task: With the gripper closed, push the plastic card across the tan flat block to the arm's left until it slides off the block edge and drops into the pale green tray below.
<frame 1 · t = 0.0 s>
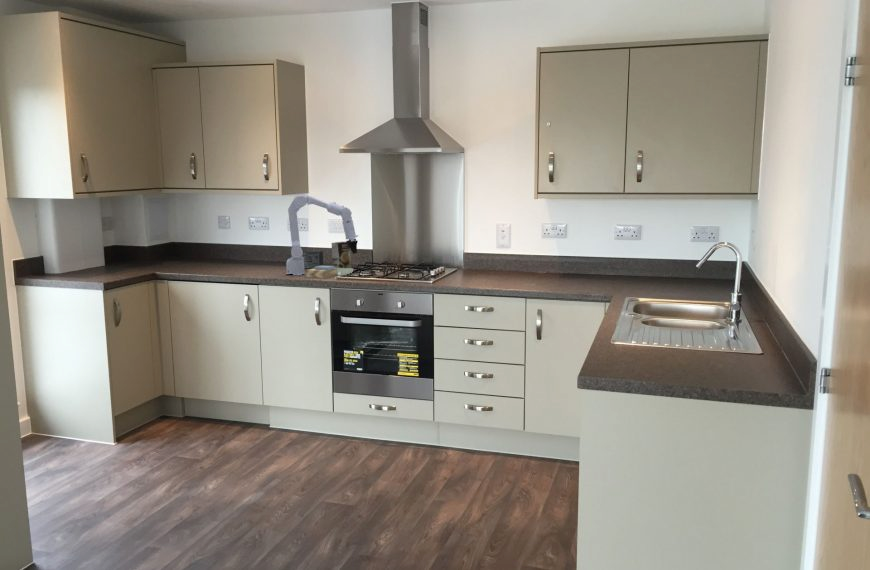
hand: (354, 252, 408), 11 cm above the worktop, tool pointing down, fingers open, 7 cm apart
tan flat block: (321, 276, 393), on the worktop
tray: (337, 273, 401), on the worktop
small box: (313, 268, 426), on the worktop
coffee box: (342, 270, 416), on the worktop
card: (324, 269, 391), point 4 cm above the worktop, touching tan flat block
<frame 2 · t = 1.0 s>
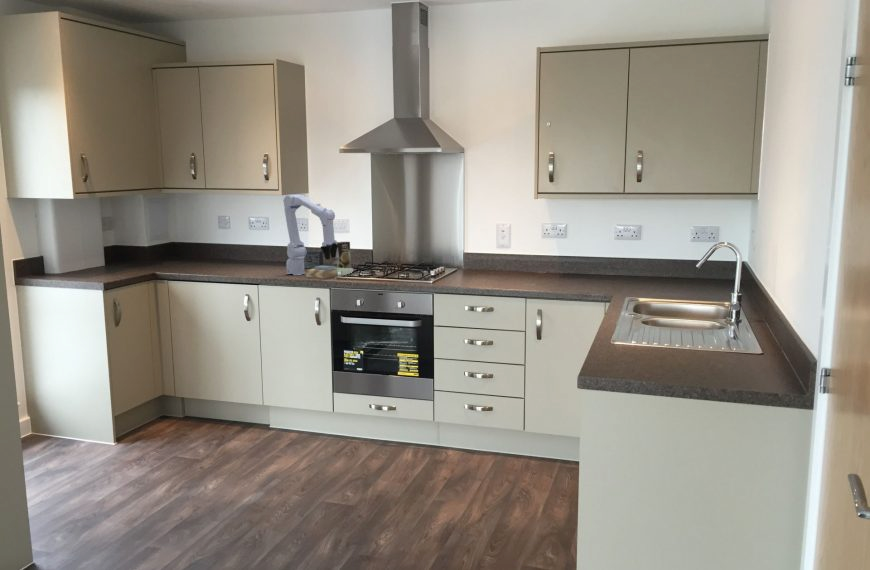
hand: (330, 258, 387), 10 cm above the worktop, tool pointing down, fingers open, 7 cm apart
nothing on the worktop moved.
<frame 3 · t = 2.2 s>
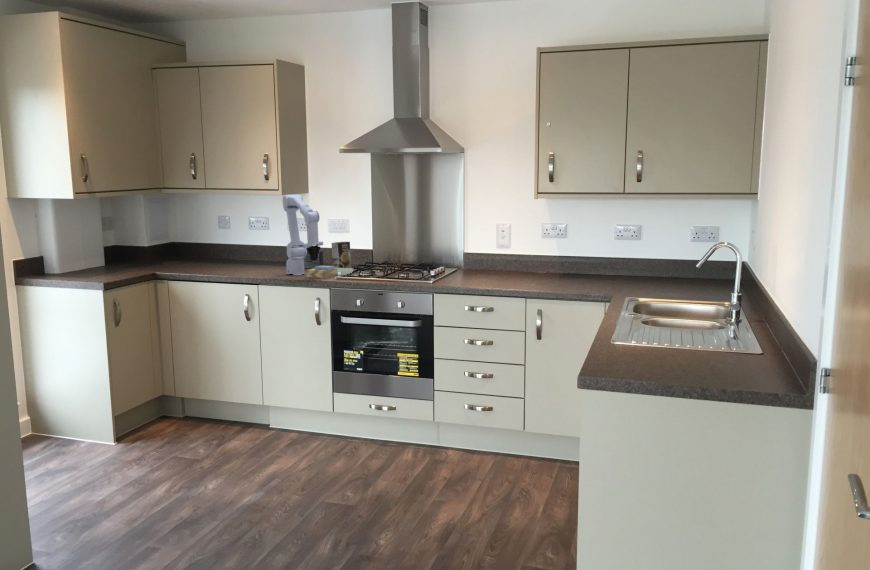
hand: (314, 260, 383), 10 cm above the worktop, tool pointing down, fingers closed
nothing on the worktop moved.
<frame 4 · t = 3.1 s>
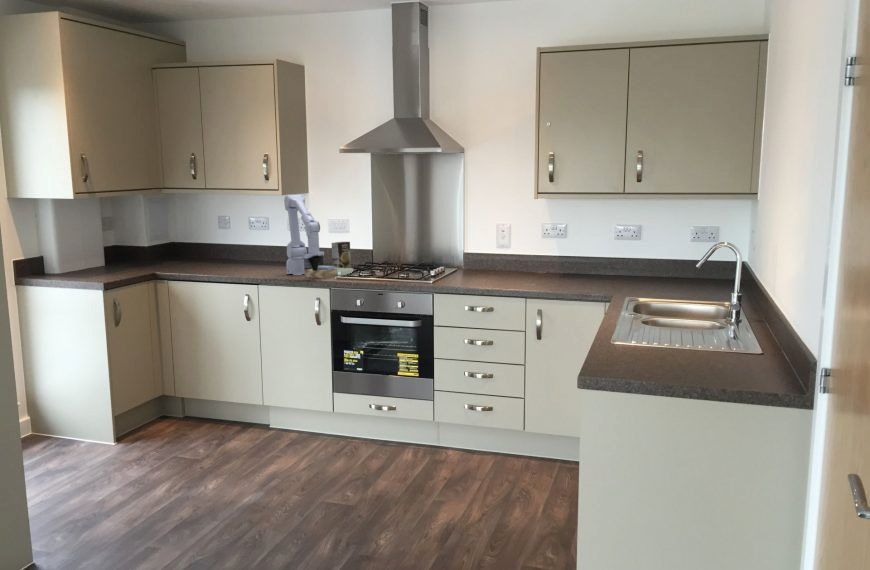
hand: (314, 270, 384), 4 cm above the worktop, tool pointing down, fingers closed
nothing on the worktop moved.
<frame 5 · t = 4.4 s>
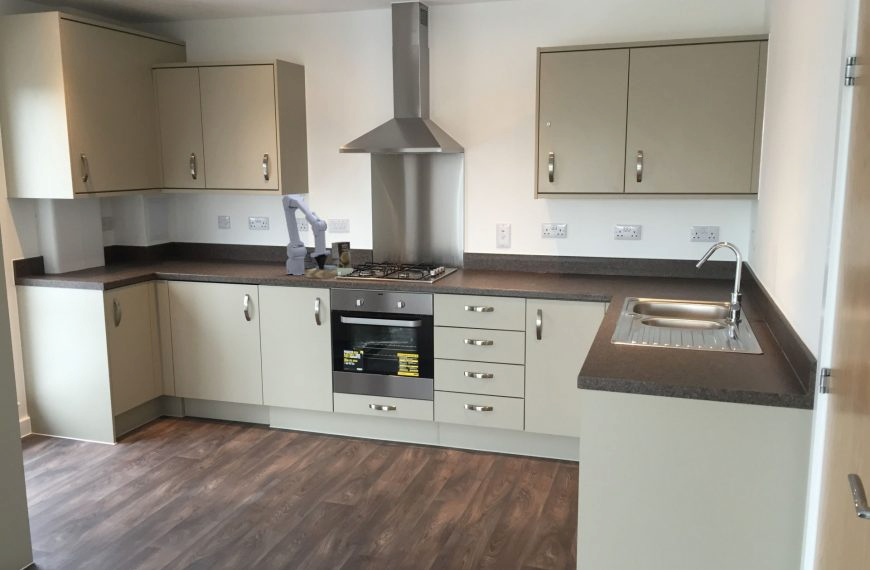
hand: (321, 269, 389), 4 cm above the worktop, tool pointing down, fingers closed
card: (326, 268, 392), point 4 cm above the worktop, touching tan flat block, gripper
everything else where it was.
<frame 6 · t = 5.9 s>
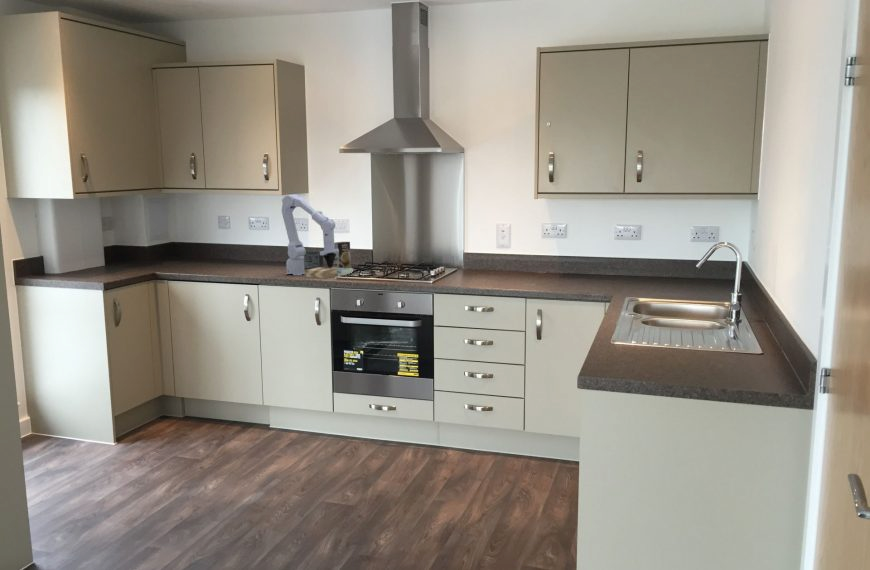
hand: (330, 267, 396), 5 cm above the worktop, tool pointing down, fingers closed
card: (337, 270, 402), point 2 cm above the worktop, tilted 180°, touching tray
everything else where it was.
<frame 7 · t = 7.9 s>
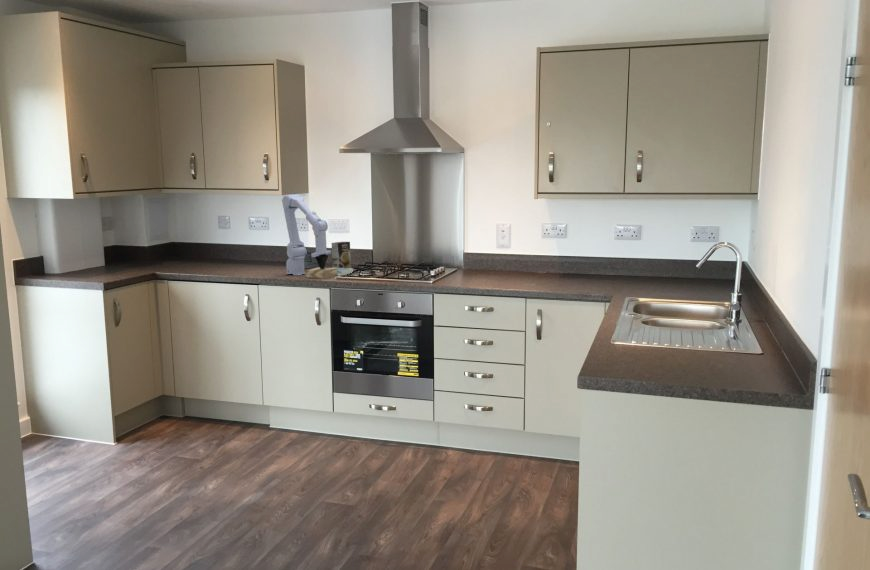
hand: (322, 268, 390), 5 cm above the worktop, tool pointing down, fingers closed
nothing on the worktop moved.
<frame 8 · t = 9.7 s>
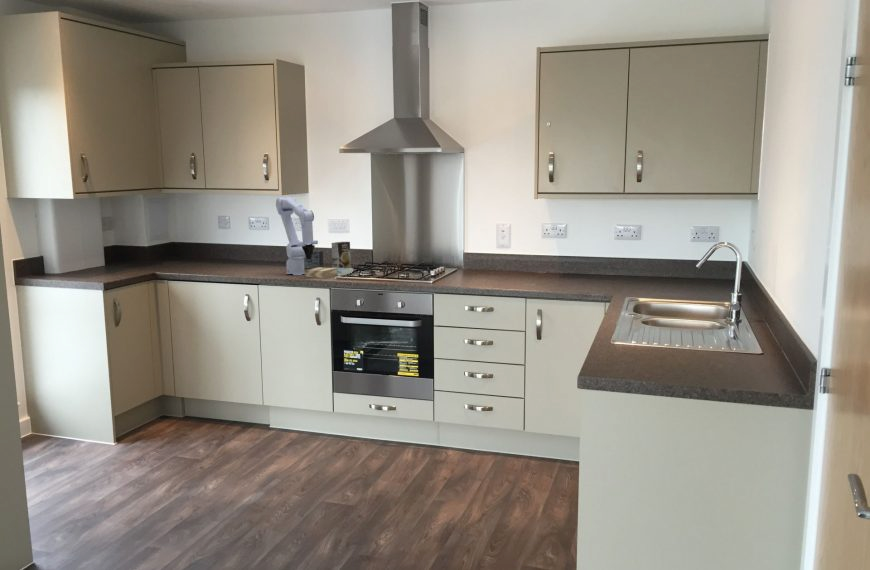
hand: (308, 258, 390), 10 cm above the worktop, tool pointing down, fingers closed
nothing on the worktop moved.
at the end: card point 2.0 cm above the worktop; card inside the target area on the tray (1.0 cm from its centre), point 2.0 cm above the tray's base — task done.
